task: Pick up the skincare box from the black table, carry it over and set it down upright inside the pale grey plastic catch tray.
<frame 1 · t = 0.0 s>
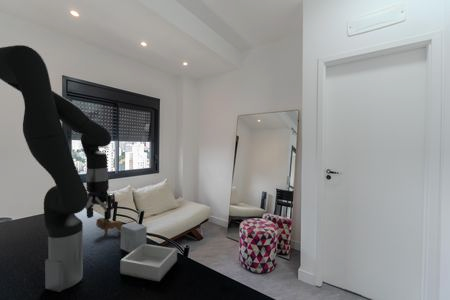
hand: (98, 218, 82), 17 cm above the table, tool pointing down, fingers open, 8 cm apart
skincare box: (133, 249, 92), on the table
lion figurine: (111, 234, 106), on the table
catch tray: (150, 266, 79), on the table
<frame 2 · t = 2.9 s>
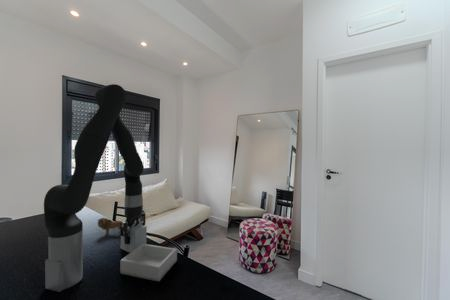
hand: (133, 239, 92), 4 cm above the table, tool pointing down, fingers closed on skincare box, 7 cm apart
skincare box: (133, 248, 92), on the table, touching gripper
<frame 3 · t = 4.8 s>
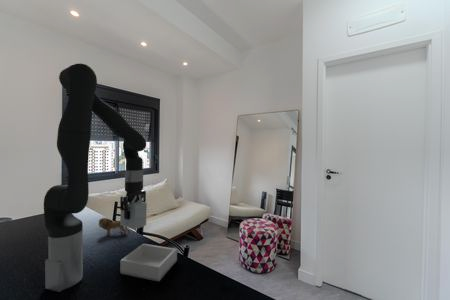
hand: (133, 216, 92), 15 cm above the table, tool pointing down, fingers closed on skincare box, 7 cm apart
skincare box: (133, 225, 92), point 11 cm above the table, touching gripper
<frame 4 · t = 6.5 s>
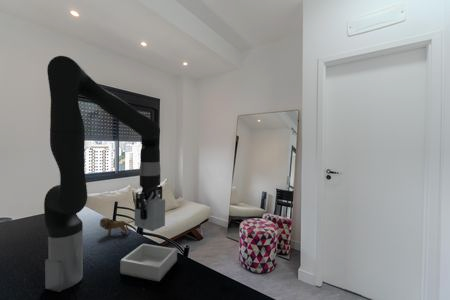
hand: (150, 215, 79), 20 cm above the table, tool pointing down, fingers closed on skincare box, 7 cm apart
skincare box: (149, 226, 79), point 16 cm above the table, touching gripper
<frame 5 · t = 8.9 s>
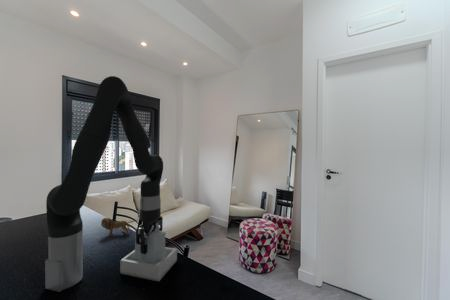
hand: (150, 248, 79), 7 cm above the table, tool pointing down, fingers closed on skincare box, 7 cm apart
skincare box: (150, 258, 79), point 3 cm above the table, touching gripper
when the fingers open (6 cm above the table, at t = 10.2 s): skincare box drops 1 cm, resting on catch tray.
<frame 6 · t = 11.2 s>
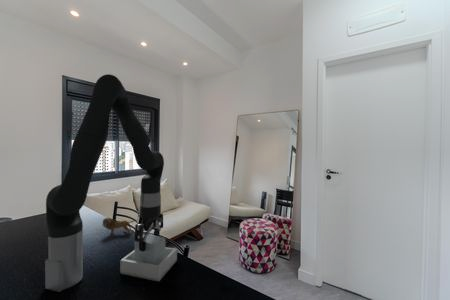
hand: (149, 245, 78), 9 cm above the table, tool pointing down, fingers open, 8 cm apart
skincare box: (150, 264, 79), point 1 cm above the table, touching catch tray, gripper
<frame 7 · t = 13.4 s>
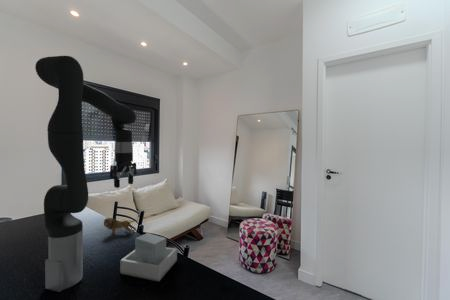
hand: (124, 185, 96), 28 cm above the table, tool pointing down, fingers open, 8 cm apart
skincare box: (150, 265, 79), point 1 cm above the table, touching catch tray
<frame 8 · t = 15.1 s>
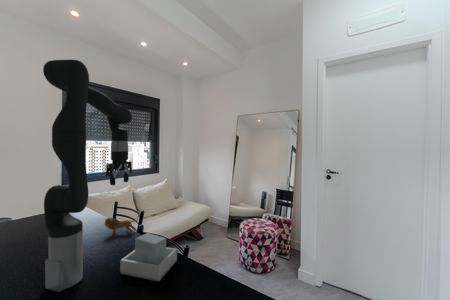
hand: (119, 183, 99), 28 cm above the table, tool pointing down, fingers open, 8 cm apart
at the end: skincare box inside the target area on the catch tray (0.2 cm from its centre), point 0.6 cm above the catch tray's base; the gripper is holding nothing; skincare box tilted 0° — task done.
